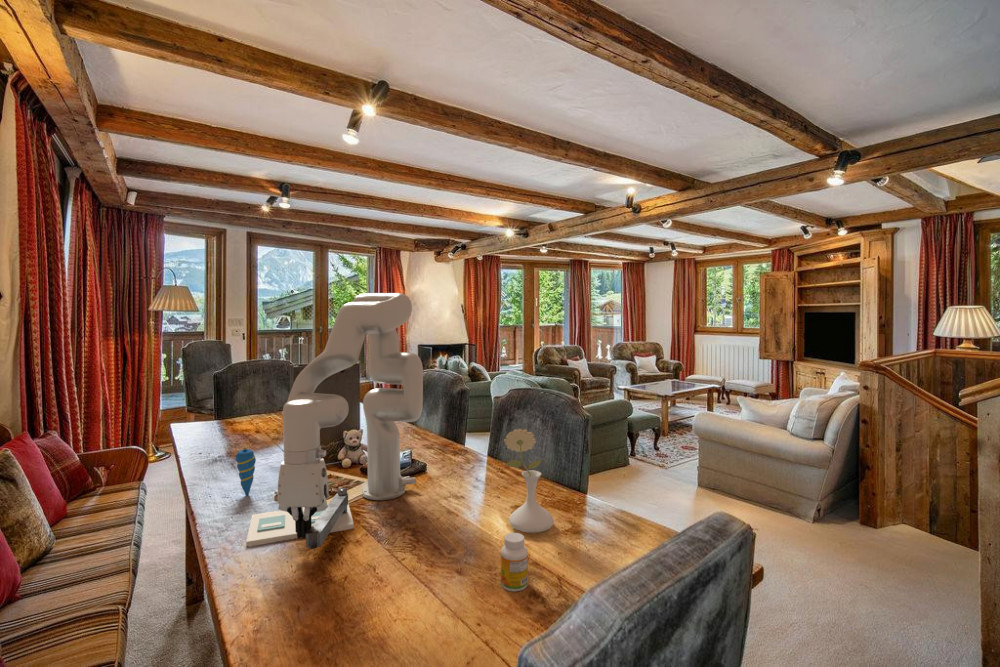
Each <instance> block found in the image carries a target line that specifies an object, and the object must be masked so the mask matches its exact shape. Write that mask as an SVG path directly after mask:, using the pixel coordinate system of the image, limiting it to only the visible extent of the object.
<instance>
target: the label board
mask: <svg viewBox="0 0 1000 667" xmlns="http://www.w3.org/2000/svg"><path fill="white" fill-rule="evenodd" d="M327 505H328V503H327ZM302 508H303V514H304V509H305V507H302ZM322 512H323V511H320V512H315V513H314V514H313V515H312V516H311V525H313V524H314V522H315V521H316V520H317V518H318V517H319V516H320V515H321V513H322ZM353 529H355V526H354V519H353V516H352V513H351V508H350V504H349V503H348V505H347V512H346V513H343V514H341V516H340V518H339V519H338V521H337V522H336V524H335V525H334V527H333V528H332V530H331V531H330V533H335V532H342V531H347V530H353ZM330 533H329V534H330ZM294 538H296V539H298V538H297V533H296V529H295V521H294V520H293V517H292V516H291V515H290V514H289V513H288V512H285V511H281V510H275V511H269V512H262V513H261V512H260V513H255V514H252V515H251V519H250V523H249V528H248V533H247V536H246V541H245V543H246V544H245V545H246V546H249V547H253V546H252V545H255V546H260V545H265V544H271V543H277V541H278V542H283V540H284V541H289V539H290V540H294ZM259 544H260V545H259Z"/></svg>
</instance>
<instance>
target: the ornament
mask: <svg viewBox="0 0 1000 667" xmlns="http://www.w3.org/2000/svg"><path fill="white" fill-rule="evenodd" d="M235 460H236V462H237V465H236V468H237V469H238V476H239V479H240V486H241V488H242V490H243V492H244V494H245V496H249V494H250V492H251V487H252V485H253V482H254V473H255V470H256V467H255V464H256V461H257V459H256V455H255V452H254V451H253V450H252V449H248V447H247V446H246V445H244V446H243V448H242V449H241V450H239V451H238V452H237V453H236V455H235Z"/></svg>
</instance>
